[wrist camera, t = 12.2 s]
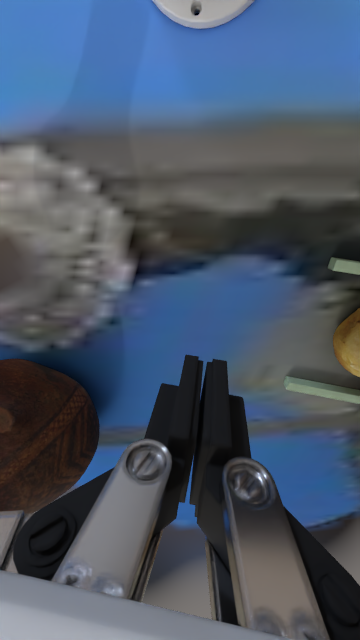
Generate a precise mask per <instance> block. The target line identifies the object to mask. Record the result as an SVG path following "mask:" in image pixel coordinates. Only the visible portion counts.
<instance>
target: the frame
mask: <svg viewBox="0 0 360 640" xmlns="http://www.w3.org/2000/svg"><path fill="white" fill-rule="evenodd" d="M328 268H329V269H331V270H333V271H340V272H346V273H352V274H358V275H360V262H359V261H353V260H346V259H340V258H334V257H331V259H330V262H329V265H328ZM284 385H285V387H286V390H291V391H296V392H301V393H306V394H311V395H316V396H322V397H327V398H332V399H337V400H342V401H347V402H352V403H357V404H360V390H357V389H351V388H346V387H341V386H336V385H330V384H325V383H320V382H315V381H310V380H304V379H299V378H294V377H289V376H286V378H285V381H284Z"/></svg>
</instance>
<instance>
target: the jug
mask: <svg viewBox="0 0 360 640" xmlns="http://www.w3.org/2000/svg"><path fill="white" fill-rule="evenodd" d="M98 440H99V420H98V416H97V412H96V409H95V407H94V404H93V402H92V400H91V398H90V396H89V394H88V393H87V391H86V390H85V389H84V388H83V387H82V386H81V385H80V384H79V383H78V382H76V381H75V380H74V379H72V378H70V377H68V376H67V375H65V374H63V373H61V372H58V371H56V370H53V369H51V368H48V367H45V366H43V365H40V364H38V363H35V362H32V361H28V360H23V359H6V360H0V512H2V511H19V510H23V511H24V514H32V513H34V512H36V511H37V510H39V509H41V508H43V507H45V506H46V505H48V504H49V503H51V502H52V501H54V500H55V499H56V498H58V497H59V496H61V495H62V494H63V493H65V492H66V491H67V490H69V489H70V488H71V487H72V486H73V485H74V484H75V483H76V482H77V481H78V480H79V479H80V478H81V476H82V475H83V474H84V472H85V470H86V469H87V467H88V465H89V464H90V462H91V460H92V458H93V456H94V454H95V452H96V449H97V445H98Z"/></svg>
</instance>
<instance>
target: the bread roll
mask: <svg viewBox="0 0 360 640" xmlns="http://www.w3.org/2000/svg"><path fill="white" fill-rule="evenodd" d="M333 346H334V352H335V356H336V358H337V360H338V361H339V363H340V364H341V365H342V366H343V367H344V368H345V369H346V370H348V371H349V372H350V373H352V374H353V375H356V376H358V377H360V308H359V309H358V310H357V311H355V312H354V313H353V314H351V315H350V316H349V317H348V318H347V319H345V320H344V321H343V322H342V323H341V324H340V325H339V326H338V327H337V329H336V331H335V333H334V336H333Z"/></svg>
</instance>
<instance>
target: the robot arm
mask: <svg viewBox="0 0 360 640" xmlns="http://www.w3.org/2000/svg"><path fill="white" fill-rule="evenodd" d="M152 1H153V2H154V3H155V4H156V6H157V7H158V8H159V9H160V10H161V12H163V13H164V14H165V15H166V16H168V17H169V18H170V19H171V20H173V21H174V22H177V23H179V24H181V25H183V26H185V27H191V28H197V29H203V28H213V27H216V26H219V25H221V24H224V23H227V22H229V21H230V20H232V19H233V18H235V17H237V16H238V15H240V14H241V13H242V12H243V11H244V10H245V9H246V8H248V7H249V6H250V5H251V4H252V3H253V2H254V1H255V0H152ZM197 12H198V13H200V14H199V15H196V16H195V13H197ZM198 358H199V357H198V356H192V355H185V360H184V365H183V370H182V374H181V379H180V384H179V386H175V385H169V384H163V383H162V384H161V386H160V389H159V393H158V396H157V399H156V402H155V405H154V409H153V412H152V415H151V418H150V422H149V425H148V428H147V431H146V434H145V438H144V439H141V440H138V441H135V442H133V443H132V444H131V445H129V446H128V447H127V448H126V449H125V451H124V452H123V454H122V455H121V457H120V459H119V461H118V463H117V464H116V466H115V467H114V468H113V469H111V470H109V471H107V472H105V473H104V474H102V475H100V476H98V477H96V478H95V479H93V480H91V481H89V482H88V483H86V484H84V485H82V486H80V487H79V488H77V489H75V490H73V491H71V492H70V493H68V494H66V495H64V496H63V497H61V498H59V499H58V500H55V501H54V502H52V503H50V504H48V505H47V506H45V507H43V508H41V509H40V510H39V511H38V512H36V513H32V514H24V511H23V510H19V511H2V512H0V640H360V586H359V585H358V584H357V582H356V581H355V580H354V578H353V577H352V576H351V575H350V574H349V573H348V572H347V571H346V570H345V569H344V568H343V567H342V566H341V565H340V564H339V563H338V561H336V559H335V558H334V557H333V556H331V554H330V553H329V552H328V551H327V550H326V549H325V548H324V547H323V546H322V545H321V544H320V543H319V542H318V541H317V540H316V539H315V538H314V537H313V536H312V535H311V534H310V533H309V532H308V531H307V530H306V529H305V528H304V527H303V526H302V525H301V524H300V523H299V522H298V520H297V519H296V518H295V517H294V516H293V515H292V514H291V513H290V512H289V511H288V510H287V509H286V508H285V507H284V506H283V504H282V501H281V498H280V496H279V493H278V490H277V487H276V484H275V482H274V480H273V478H272V476H271V474H270V473H269V471H268V470H267V469H266V468H265V467H264V466H263V465H262V464H260V463H259V462H258V461H255V460H253V459H251V452H250V445H249V437H248V430H247V422H246V415H245V407H244V401H243V398H242V397H239V396H233V395H229V391H228V375H227V361H222V360H216V359H213V361H212V362H207V366H206V372H205V377H204V383H203V388H202V394H201V399H200V393H201V382H202V371H203V361H200V360H198ZM193 455H194V460H193ZM192 461H193V471H192V482H191V492H190V504H193V505H196V506H195V517H197V524H198V525H199V527H200V528H201V530H202V531H203V532H204V534H205V547H206V558H207V570H208V581H209V593H210V605H211V617H212V620H211V619H207V618H202V617H198V616H195V615H190V614H186V613H182V612H178V611H174V610H169V609H165V608H161V607H157V606H153V605H149V604H144V603H141V602H142V599H143V596H144V592H145V589H146V586H147V582H148V579H149V576H150V572H151V569H152V566H153V562H154V559H155V556H156V552H157V549H158V546H159V542H160V539H161V536H162V532H163V528H165V527H166V526H167V525H168V524H170V523H171V522H172V521H173V520H175V519H176V516H177V510H178V504H179V502H183V503H185V498H186V492H187V487H188V482H189V476H190V471H191V466H192Z"/></svg>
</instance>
